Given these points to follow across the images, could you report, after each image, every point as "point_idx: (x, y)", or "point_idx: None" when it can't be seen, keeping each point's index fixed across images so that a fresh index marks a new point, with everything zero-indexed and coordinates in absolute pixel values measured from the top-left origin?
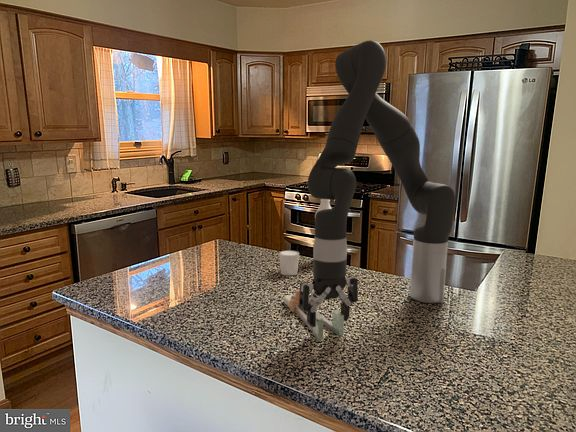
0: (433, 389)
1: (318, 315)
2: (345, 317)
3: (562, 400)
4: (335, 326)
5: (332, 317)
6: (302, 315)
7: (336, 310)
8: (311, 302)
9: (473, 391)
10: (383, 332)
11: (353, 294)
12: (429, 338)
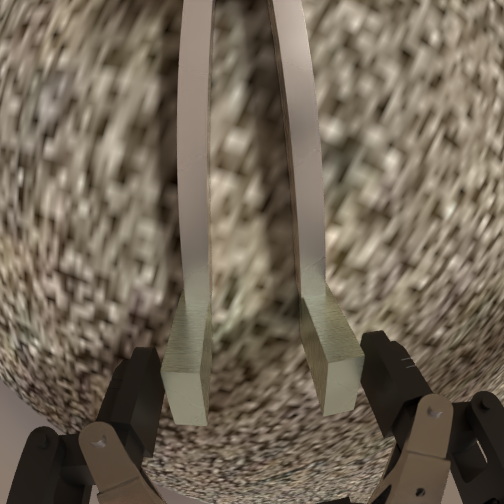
0: (332, 486)
1: (192, 391)
2: (363, 385)
3: None
4: (306, 332)
5: (316, 331)
6: (180, 87)
7: (360, 358)
8: (115, 475)
9: (375, 482)
10: (452, 337)
11: (457, 481)
12: (487, 374)
